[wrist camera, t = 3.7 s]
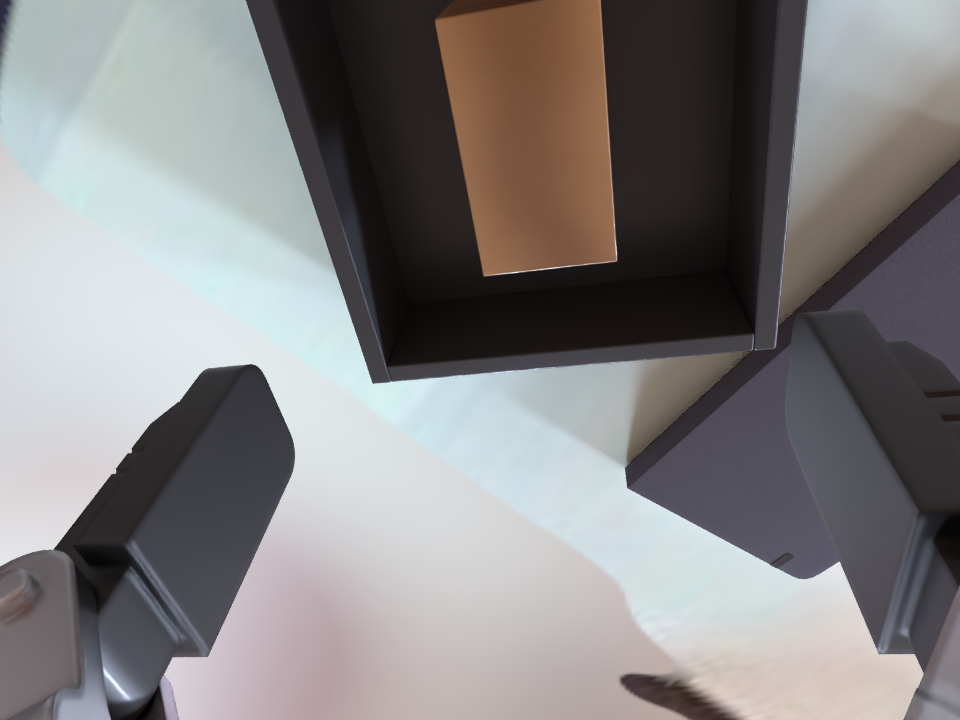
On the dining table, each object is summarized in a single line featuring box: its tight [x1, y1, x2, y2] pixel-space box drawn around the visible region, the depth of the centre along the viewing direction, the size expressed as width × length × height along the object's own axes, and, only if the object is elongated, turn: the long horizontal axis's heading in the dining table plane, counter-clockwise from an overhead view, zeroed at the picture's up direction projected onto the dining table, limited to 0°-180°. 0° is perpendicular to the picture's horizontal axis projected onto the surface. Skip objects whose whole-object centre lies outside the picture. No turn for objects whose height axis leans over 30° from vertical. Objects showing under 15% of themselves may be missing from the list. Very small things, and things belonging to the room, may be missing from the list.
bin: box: [246, 0, 808, 384], centre depth 23 cm, size 16×18×6 cm
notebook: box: [625, 162, 960, 579], centre depth 31 cm, size 13×2×21 cm
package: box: [435, 0, 617, 276], centre depth 22 cm, size 4×8×6 cm, turn 10°
